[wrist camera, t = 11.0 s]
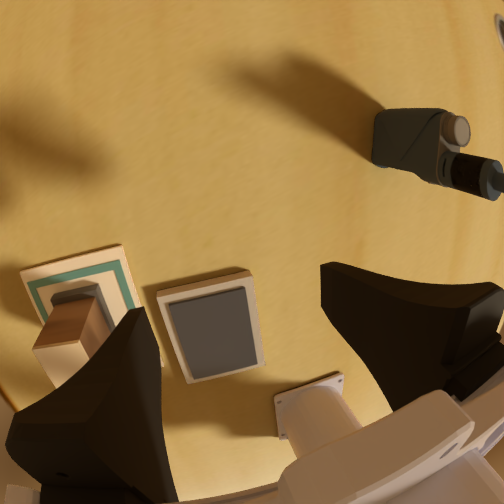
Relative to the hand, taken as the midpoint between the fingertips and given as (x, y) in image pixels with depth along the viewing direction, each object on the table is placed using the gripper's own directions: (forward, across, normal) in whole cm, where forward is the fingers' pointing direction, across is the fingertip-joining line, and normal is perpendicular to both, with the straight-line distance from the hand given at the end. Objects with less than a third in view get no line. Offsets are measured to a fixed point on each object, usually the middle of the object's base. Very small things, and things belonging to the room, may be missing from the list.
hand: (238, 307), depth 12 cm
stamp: (+10, +10, +4) cm, 15 cm away
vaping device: (+10, -15, -5) cm, 19 cm away
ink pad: (+10, +1, +8) cm, 13 cm away
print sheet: (+10, +10, +5) cm, 15 cm away
